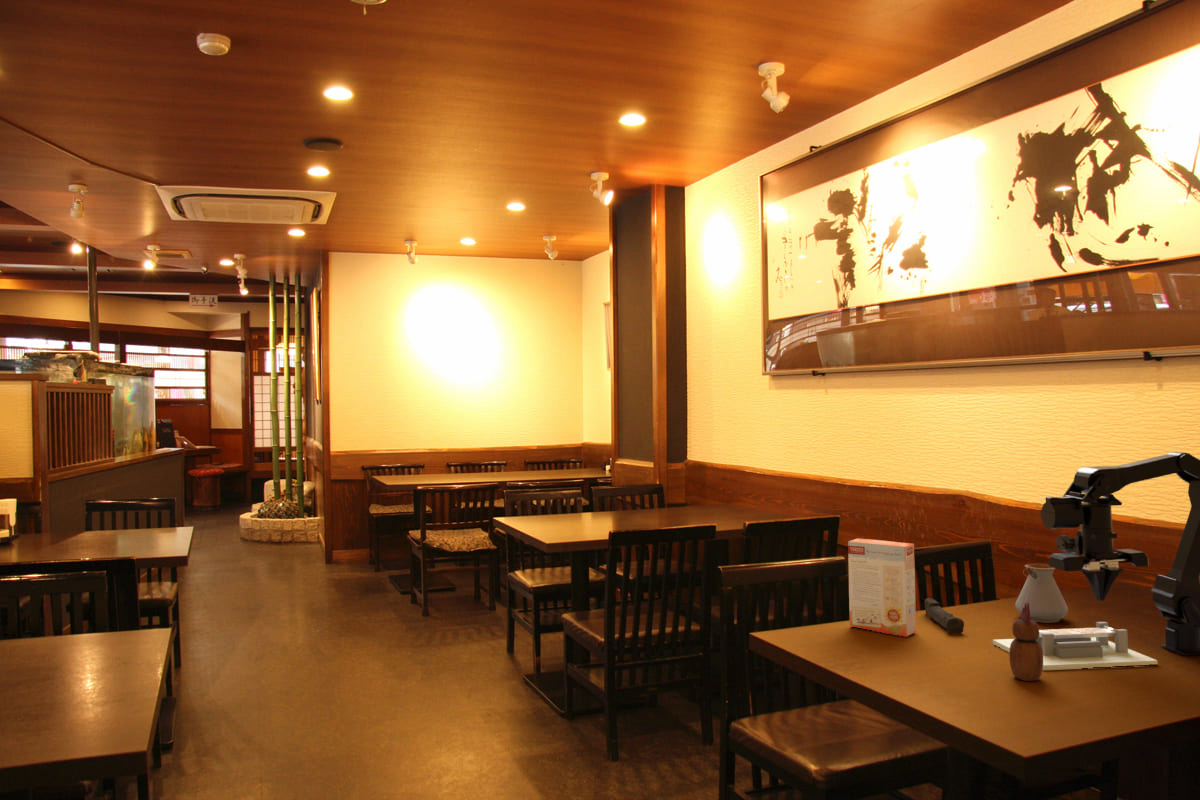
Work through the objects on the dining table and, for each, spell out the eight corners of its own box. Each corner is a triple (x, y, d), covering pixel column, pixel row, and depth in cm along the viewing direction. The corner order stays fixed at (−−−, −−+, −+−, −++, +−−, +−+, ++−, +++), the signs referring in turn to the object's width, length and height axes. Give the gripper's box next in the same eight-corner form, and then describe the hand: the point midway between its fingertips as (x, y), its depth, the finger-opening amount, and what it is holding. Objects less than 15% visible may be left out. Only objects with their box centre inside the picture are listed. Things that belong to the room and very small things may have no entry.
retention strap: (1108, 632, 175) (1108, 625, 175) (1121, 638, 171) (1121, 630, 171) (1033, 635, 173) (1033, 628, 173) (1045, 641, 169) (1045, 633, 169)
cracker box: (917, 632, 190) (915, 542, 190) (906, 638, 185) (904, 546, 186) (860, 622, 199) (858, 537, 200) (848, 627, 195) (847, 540, 195)
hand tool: (965, 635, 188) (964, 615, 188) (947, 635, 188) (946, 615, 188) (937, 614, 207) (937, 596, 207) (921, 614, 207) (921, 596, 207)
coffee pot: (1020, 610, 208) (1019, 551, 208) (1072, 617, 201) (1070, 556, 201) (1001, 629, 192) (1000, 565, 192) (1057, 637, 184) (1056, 570, 185)
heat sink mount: (1096, 640, 182) (1095, 614, 182) (1157, 665, 164) (1156, 637, 164) (992, 644, 180) (992, 618, 180) (1043, 670, 162) (1042, 642, 162)
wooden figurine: (1042, 686, 153) (1040, 606, 153) (1008, 681, 156) (1006, 602, 156) (1044, 675, 159) (1043, 598, 159) (1011, 671, 162) (1010, 595, 162)
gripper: (1111, 519, 182) (1114, 589, 182) (1031, 524, 181) (1035, 594, 180) (1148, 526, 171) (1152, 601, 171) (1064, 531, 169) (1068, 607, 169)
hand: (1100, 600), depth 173 cm, fingers closed
